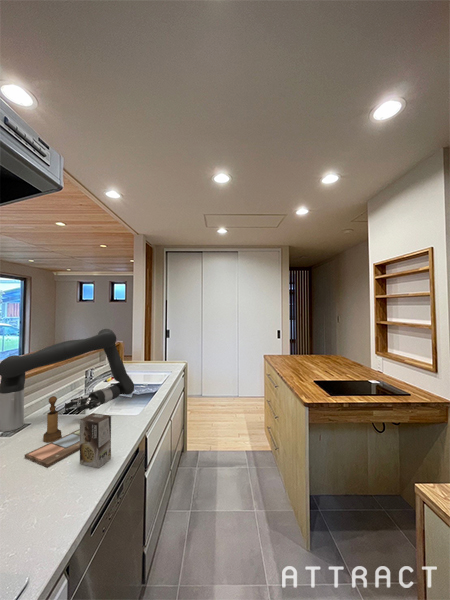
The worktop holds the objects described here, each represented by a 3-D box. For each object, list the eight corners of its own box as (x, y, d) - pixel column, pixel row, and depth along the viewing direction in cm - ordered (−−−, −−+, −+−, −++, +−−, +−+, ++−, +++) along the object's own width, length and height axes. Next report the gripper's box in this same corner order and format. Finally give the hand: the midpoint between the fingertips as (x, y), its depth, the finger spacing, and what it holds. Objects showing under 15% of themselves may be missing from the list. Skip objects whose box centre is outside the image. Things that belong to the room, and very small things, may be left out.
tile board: (24, 457, 100) (24, 453, 100) (88, 427, 124) (88, 424, 124) (47, 467, 94) (47, 462, 94) (109, 433, 118) (109, 430, 118)
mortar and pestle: (52, 443, 110) (52, 399, 111) (39, 441, 112) (39, 398, 112) (64, 435, 117) (65, 394, 117) (52, 434, 118) (52, 393, 118)
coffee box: (111, 458, 99) (112, 415, 100) (98, 468, 93) (98, 422, 93) (92, 454, 102) (93, 412, 102) (78, 463, 96) (79, 419, 96)
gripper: (91, 387, 140) (61, 397, 125) (110, 391, 134) (81, 402, 119) (91, 402, 140) (60, 413, 125) (110, 406, 134) (81, 419, 119)
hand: (71, 408), depth 122 cm, fingers open, 8 cm apart
